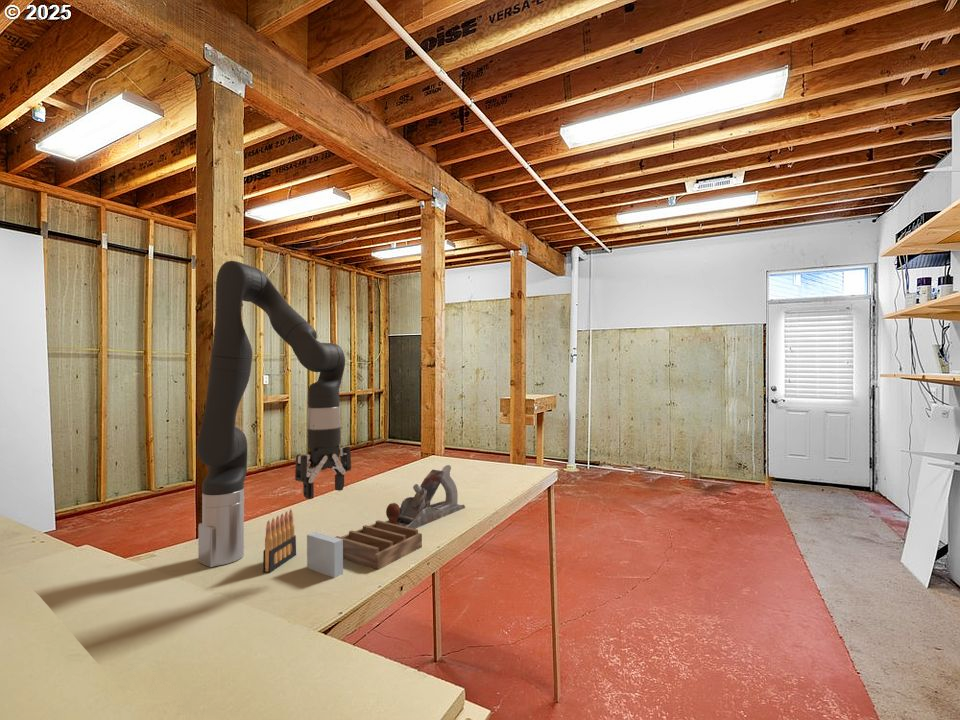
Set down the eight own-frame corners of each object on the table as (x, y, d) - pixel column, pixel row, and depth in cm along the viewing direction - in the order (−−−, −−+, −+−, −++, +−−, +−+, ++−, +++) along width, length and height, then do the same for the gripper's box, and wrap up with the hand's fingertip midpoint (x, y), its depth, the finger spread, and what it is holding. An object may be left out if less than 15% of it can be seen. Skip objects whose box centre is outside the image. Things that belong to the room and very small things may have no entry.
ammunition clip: (269, 573, 106) (269, 521, 107) (262, 572, 107) (262, 521, 107) (296, 554, 117) (296, 508, 117) (290, 554, 117) (289, 507, 117)
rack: (378, 569, 107) (377, 550, 107) (330, 554, 117) (330, 536, 117) (421, 546, 121) (421, 530, 121) (376, 535, 130) (376, 519, 130)
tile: (334, 578, 103) (334, 542, 104) (307, 568, 109) (306, 534, 109) (343, 574, 106) (342, 539, 106) (315, 564, 111) (315, 531, 111)
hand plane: (373, 531, 134) (373, 481, 134) (446, 504, 161) (446, 461, 161) (394, 538, 128) (394, 485, 129) (466, 508, 155) (466, 464, 156)
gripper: (308, 430, 100) (309, 504, 100) (357, 423, 112) (358, 489, 112) (287, 428, 104) (288, 499, 104) (337, 422, 116) (338, 485, 116)
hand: (324, 494), depth 108 cm, fingers open, 8 cm apart
